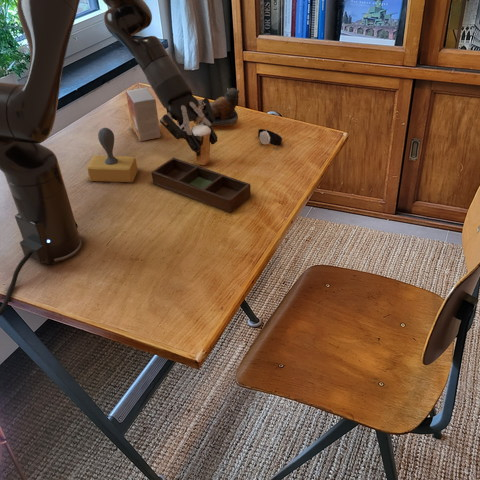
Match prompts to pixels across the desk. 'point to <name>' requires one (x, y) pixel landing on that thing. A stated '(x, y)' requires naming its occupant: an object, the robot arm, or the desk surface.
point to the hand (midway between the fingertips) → (206, 146)
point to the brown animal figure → (225, 108)
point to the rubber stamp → (111, 162)
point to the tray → (202, 184)
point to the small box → (143, 113)
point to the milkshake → (202, 143)
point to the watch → (269, 137)
